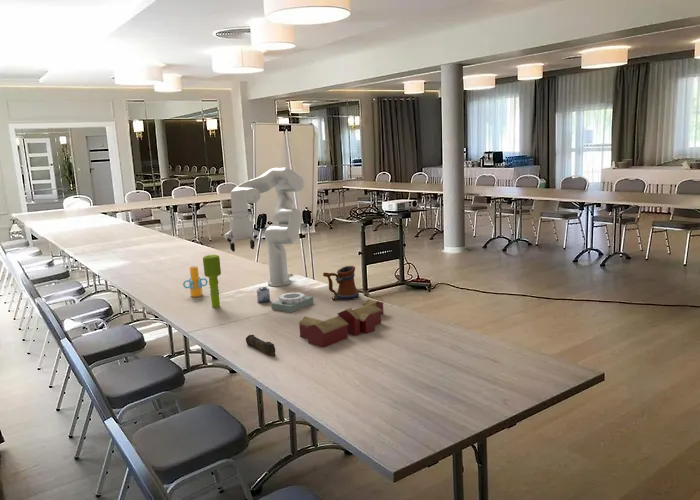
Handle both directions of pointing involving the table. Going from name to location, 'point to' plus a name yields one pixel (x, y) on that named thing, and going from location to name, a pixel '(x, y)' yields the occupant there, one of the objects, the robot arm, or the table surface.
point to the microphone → (213, 276)
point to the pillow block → (291, 302)
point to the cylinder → (195, 282)
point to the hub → (263, 295)
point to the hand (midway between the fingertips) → (242, 249)
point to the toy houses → (342, 324)
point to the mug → (343, 283)
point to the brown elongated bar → (261, 345)
